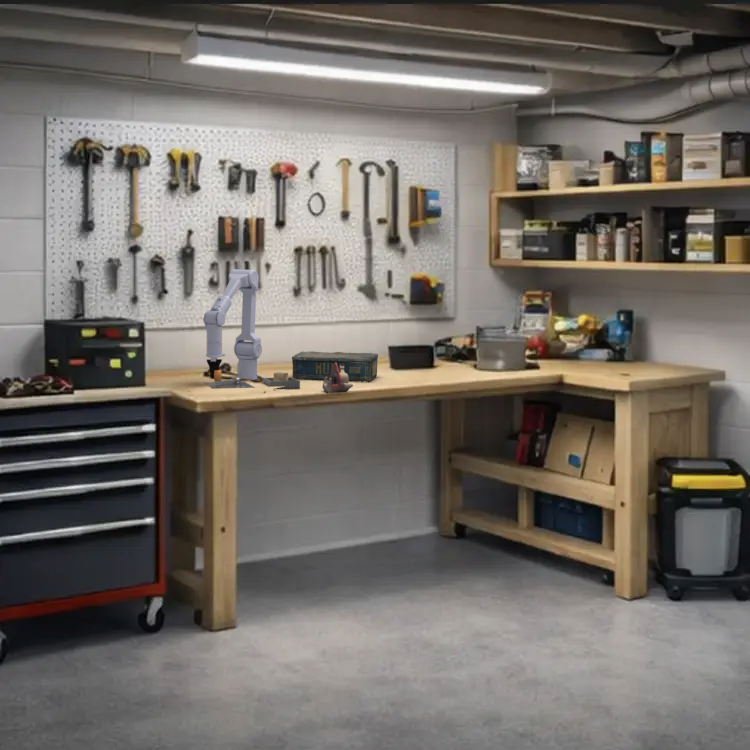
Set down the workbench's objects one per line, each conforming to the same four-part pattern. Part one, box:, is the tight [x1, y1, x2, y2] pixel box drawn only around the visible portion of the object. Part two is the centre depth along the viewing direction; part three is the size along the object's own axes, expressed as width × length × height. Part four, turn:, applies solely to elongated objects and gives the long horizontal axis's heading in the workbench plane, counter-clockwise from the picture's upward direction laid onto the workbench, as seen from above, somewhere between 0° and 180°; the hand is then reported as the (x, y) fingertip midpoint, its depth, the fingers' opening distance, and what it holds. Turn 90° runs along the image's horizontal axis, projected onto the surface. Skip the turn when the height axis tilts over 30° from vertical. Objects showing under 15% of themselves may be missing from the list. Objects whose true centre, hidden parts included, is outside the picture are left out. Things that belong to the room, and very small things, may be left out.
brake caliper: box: [322, 362, 354, 395], centre depth 438 cm, size 11×11×12 cm
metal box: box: [291, 350, 379, 382], centre depth 480 cm, size 21×32×10 cm, turn 81°
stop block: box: [273, 371, 289, 381], centre depth 448 cm, size 4×4×5 cm
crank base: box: [202, 381, 256, 390], centre depth 442 cm, size 18×16×1 cm
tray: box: [262, 376, 301, 390], centre depth 448 cm, size 12×12×3 cm
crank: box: [213, 369, 242, 384], centre depth 445 cm, size 12×4×5 cm, turn 137°
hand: (214, 378), depth 443 cm, fingers closed, pressing on crank
